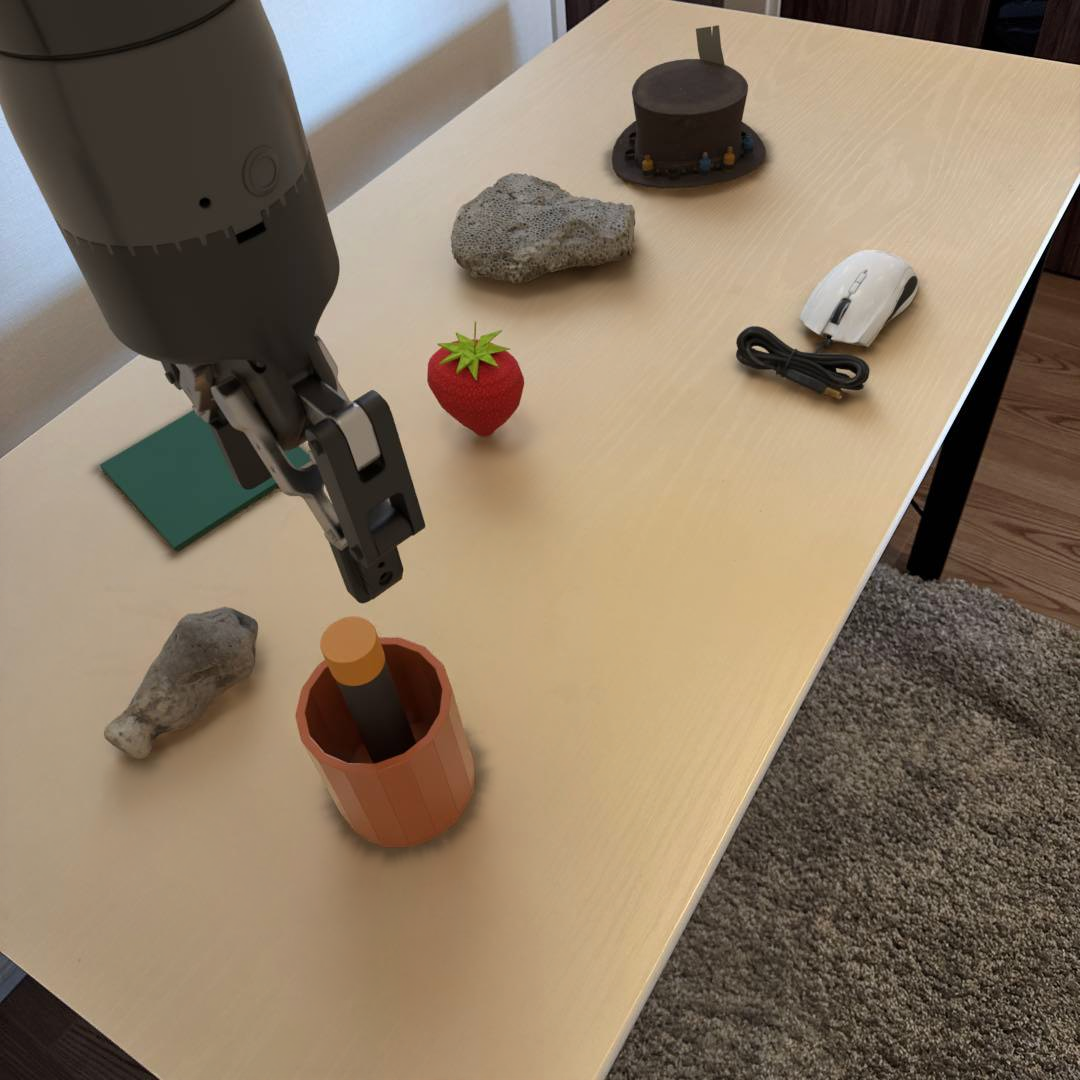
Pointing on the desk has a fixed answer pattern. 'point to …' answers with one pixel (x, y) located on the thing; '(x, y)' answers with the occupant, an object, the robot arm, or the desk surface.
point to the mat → (185, 480)
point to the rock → (537, 230)
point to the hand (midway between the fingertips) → (317, 528)
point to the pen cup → (405, 780)
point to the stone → (187, 677)
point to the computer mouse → (837, 322)
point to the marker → (367, 687)
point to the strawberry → (476, 382)
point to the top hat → (689, 124)
